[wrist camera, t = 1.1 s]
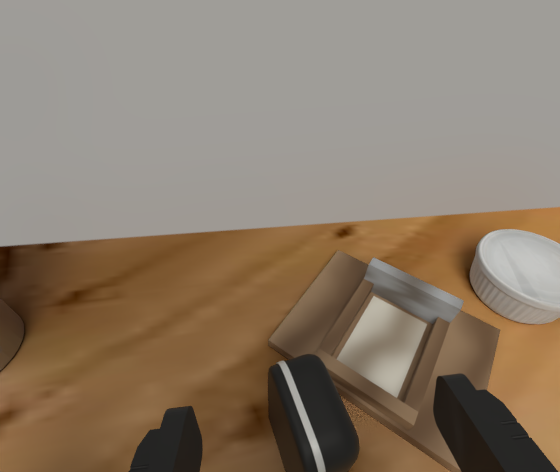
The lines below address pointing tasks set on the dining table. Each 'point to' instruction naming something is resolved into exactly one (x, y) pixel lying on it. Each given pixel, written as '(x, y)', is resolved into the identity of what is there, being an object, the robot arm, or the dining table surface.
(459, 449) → the robot arm
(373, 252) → the dining table surface
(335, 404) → the battery charger
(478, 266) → the ramekin
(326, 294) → the rail board
